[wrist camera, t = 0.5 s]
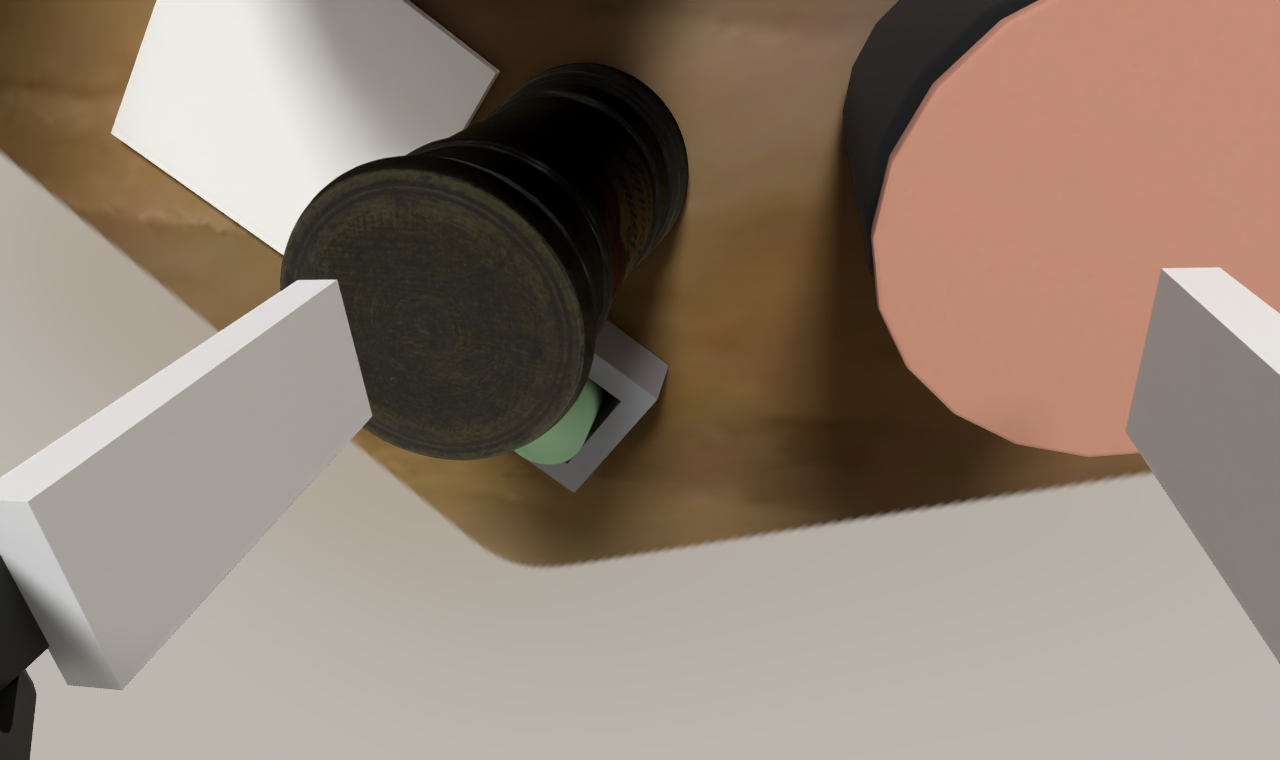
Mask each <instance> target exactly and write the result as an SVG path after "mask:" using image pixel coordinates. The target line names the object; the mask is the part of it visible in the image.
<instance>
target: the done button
mask: <svg viewBox="0 0 1280 760" xmlns="http://www.w3.org/2000/svg"><path fill="white" fill-rule="evenodd" d="M606 392H607V391H606V390H605V389H603V388H602V387H601V386H599V385H598V384H597V383H595V382H594V381H593V380H591V379H590V378H588V379H587V382H586V384H585V386H584V388H583V390H582V392H581V394H580V395H579V397H578V399H577V400H576V402H575V403H574V405H573V406H572V407H571V409H570V410H569V411H568V412H567V414H566V415H565V416H564V417H563V418H562V419H561V420H560V421H559V422H558V423H557V424H556V425H555V426H554V427H552V428H551V429H550V430H549V431H547V432H546V433H545V434H544V435H542V436H541V437H539V438H538V439H536V440H534V441H533V442H531V443H529V444H527V445H525V446H523V447H521V448H518V449H516V450H514V451H515V452H516V453H517V454H519V455H520V456H522V457H523V458H525V459H527V460H529V461H532V462H535V463H539V464H549V465H551V464H559V463H562V462H565V461H567V460H569V459H571V458H572V457H574V456H575V455H576V454H577V453H578V452H579V450H580V449H581V447H582V445H583V443H584V441H585V439H586V437H587V435H588V433H589V430H590V428H591V426H592V424H593V422H594V420H595V417H596V415H597V413H598V411H599V409H600V406H601V404H602V402H603V400H604V398H605V395H606Z"/></svg>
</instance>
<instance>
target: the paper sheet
mask: <svg viewBox="0 0 1280 760" xmlns="http://www.w3.org/2000/svg"><path fill="white" fill-rule="evenodd" d="M499 73H500V71H499V70H498V69H497V68H495V67H494V66H493V65H492V64H490V63H489V62H488V61H486V60H485V59H484V58H483V57H481V56H480V55H479V54H477V53H476V52H475V51H474V50H472V49H471V48H470V47H468V46H467V45H466V44H465V43H463V42H462V41H461V40H459V39H458V38H457V37H456V36H454V35H453V34H452V33H451V32H449V31H448V30H447V29H445V28H444V27H443V26H442V25H440V24H439V23H438V22H436V21H435V20H434V19H433V18H431V17H430V16H429V15H427V14H426V13H425V12H424V11H422V10H421V9H420V8H418V7H417V6H416V5H415V4H413V3H412V2H411V1H409V0H157V1H156V4H155V7H154V10H153V12H152V15H151V18H150V21H149V24H148V27H147V30H146V33H145V36H144V39H143V42H142V44H141V47H140V50H139V53H138V56H137V59H136V62H135V65H134V68H133V71H132V74H131V77H130V79H129V82H128V85H127V88H126V91H125V94H124V97H123V100H122V103H121V106H120V109H119V111H118V114H117V117H116V120H115V123H114V126H113V129H112V132H111V134H113V135H114V136H116V137H117V138H118V139H120V140H121V141H123V142H124V143H125V144H127V145H128V146H130V147H131V148H132V149H134V150H135V151H137V152H138V153H140V154H141V155H142V156H144V157H145V158H147V159H148V160H149V161H151V162H152V163H154V164H155V165H156V166H158V167H159V168H161V169H162V170H164V171H165V172H166V173H168V174H169V175H171V176H172V177H173V178H175V179H176V180H178V181H179V182H180V183H182V184H183V185H185V186H186V187H188V188H189V189H190V190H192V191H193V192H195V193H196V194H197V195H199V196H200V197H202V198H203V199H204V200H206V201H207V202H209V203H210V204H212V205H213V206H214V207H216V208H217V209H219V210H220V211H221V212H223V213H224V214H226V215H227V216H228V217H230V218H231V219H233V220H234V221H236V222H237V223H238V224H240V225H241V226H243V227H244V228H245V229H247V230H248V231H250V232H251V233H252V234H254V235H255V236H257V237H258V238H260V239H261V240H262V241H264V242H265V243H267V244H268V245H269V246H271V247H272V248H274V249H275V250H276V251H278V252H279V253H281V254H282V255H284V252H285V249H286V246H287V243H288V240H289V237H290V235H291V232H292V230H293V228H294V226H295V224H296V222H297V221H298V219H299V217H300V216H301V214H302V213H303V211H304V210H305V208H306V207H307V206H308V204H309V203H310V202H311V201H312V199H313V198H314V197H315V196H316V195H317V194H318V193H319V192H320V191H321V190H322V189H323V188H324V187H326V186H327V185H328V184H329V183H330V182H332V181H333V180H334V179H336V178H337V177H338V176H340V175H342V174H343V173H345V172H347V171H349V170H351V169H353V168H355V167H357V166H359V165H362V164H365V163H368V162H371V161H374V160H378V159H383V158H388V157H395V156H405V155H407V154H408V153H410V152H412V151H413V150H415V149H417V148H419V147H421V146H423V145H425V144H428V143H430V142H433V141H436V140H440V139H444V138H448V137H450V136H452V135H454V134H456V133H458V132H460V131H462V130H465V129H467V127H468V126H469V124H470V122H471V121H472V119H473V117H474V116H475V114H476V112H477V110H478V109H479V107H480V105H481V104H482V102H483V100H484V99H485V97H486V95H487V93H488V92H489V90H490V88H491V87H492V85H493V83H494V82H495V80H496V78H497V76H498V75H499Z"/></svg>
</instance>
